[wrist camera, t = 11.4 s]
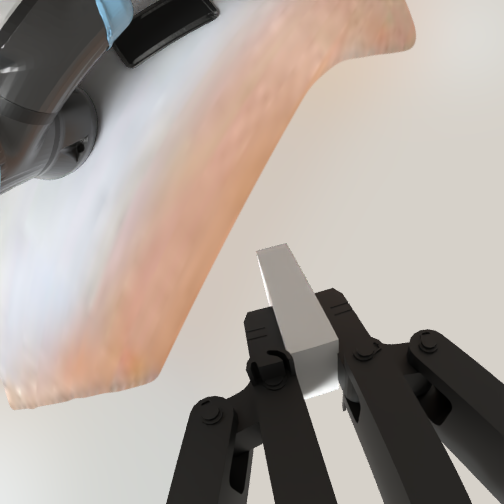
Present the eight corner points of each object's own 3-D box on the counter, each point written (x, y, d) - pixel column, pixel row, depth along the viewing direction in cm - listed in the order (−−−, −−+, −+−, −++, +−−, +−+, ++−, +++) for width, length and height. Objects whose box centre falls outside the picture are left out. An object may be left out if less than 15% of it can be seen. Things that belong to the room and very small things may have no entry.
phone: (220, 15, 29) (129, 70, 30) (220, 17, 30) (131, 71, 31) (193, -19, 25) (105, 35, 27) (193, -16, 26) (107, 37, 28)
